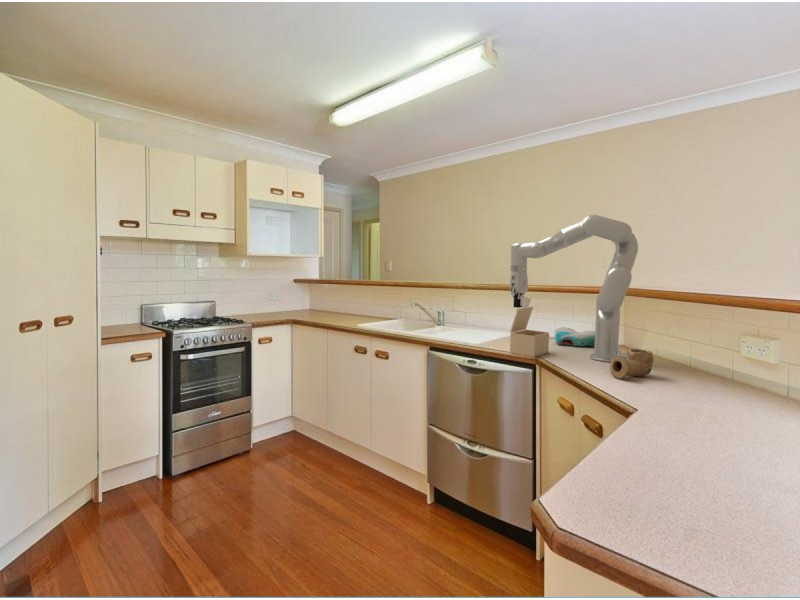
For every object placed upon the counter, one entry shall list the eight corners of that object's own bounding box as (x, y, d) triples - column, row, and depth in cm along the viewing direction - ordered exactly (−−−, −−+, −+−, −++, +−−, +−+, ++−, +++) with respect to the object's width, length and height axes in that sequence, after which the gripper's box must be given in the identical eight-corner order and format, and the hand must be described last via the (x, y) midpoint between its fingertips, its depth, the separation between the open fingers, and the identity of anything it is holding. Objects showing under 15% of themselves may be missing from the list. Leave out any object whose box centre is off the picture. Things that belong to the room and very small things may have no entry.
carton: (548, 352, 196) (549, 332, 195) (533, 357, 185) (534, 336, 185) (525, 348, 205) (525, 329, 204) (510, 353, 194) (510, 333, 193)
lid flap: (536, 297, 199) (525, 293, 203) (521, 299, 188) (510, 295, 192) (525, 329, 204) (515, 324, 207) (510, 332, 193) (500, 327, 197)
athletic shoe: (550, 346, 218) (554, 331, 209) (554, 334, 223) (558, 319, 215) (603, 361, 208) (609, 347, 200) (605, 348, 214) (612, 334, 205)
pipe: (605, 375, 156) (606, 350, 156) (636, 372, 162) (637, 347, 161) (626, 382, 148) (627, 355, 147) (657, 378, 154) (659, 351, 153)
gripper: (518, 269, 188) (517, 309, 189) (533, 269, 199) (532, 306, 201) (503, 269, 193) (502, 308, 195) (519, 268, 204) (518, 305, 206)
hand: (518, 306), depth 198 cm, fingers closed on lid flap
